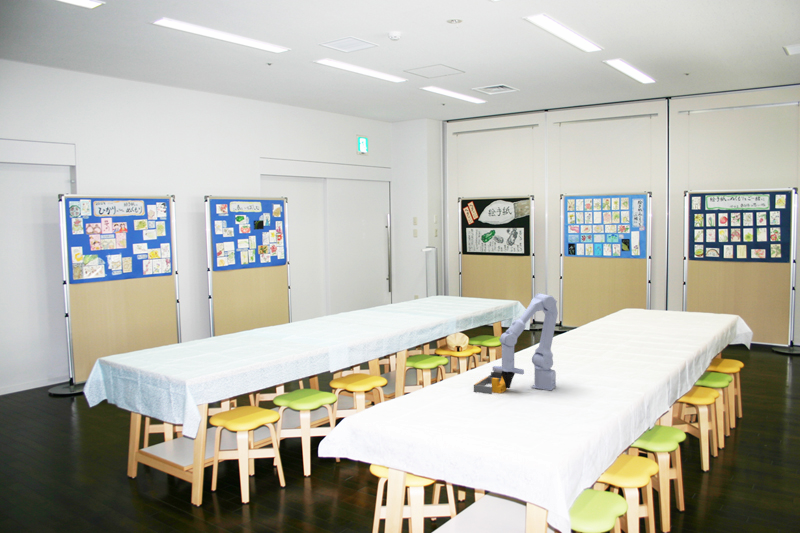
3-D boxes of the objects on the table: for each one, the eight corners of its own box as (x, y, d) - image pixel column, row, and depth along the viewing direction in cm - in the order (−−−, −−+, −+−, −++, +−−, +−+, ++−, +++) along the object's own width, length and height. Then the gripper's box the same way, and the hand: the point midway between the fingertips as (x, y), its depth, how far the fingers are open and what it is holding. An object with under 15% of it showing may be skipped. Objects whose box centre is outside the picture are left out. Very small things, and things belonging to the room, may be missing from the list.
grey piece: (511, 381, 287) (511, 370, 287) (493, 394, 267) (493, 382, 267) (492, 379, 292) (492, 368, 292) (473, 391, 272) (473, 379, 272)
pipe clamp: (500, 393, 268) (500, 379, 268) (491, 392, 271) (491, 378, 270) (512, 387, 278) (512, 374, 277) (503, 386, 280) (503, 372, 280)
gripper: (490, 359, 271) (490, 387, 272) (520, 362, 264) (520, 392, 265) (495, 355, 277) (495, 384, 278) (525, 359, 270) (525, 388, 271)
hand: (508, 387), depth 272 cm, fingers closed
